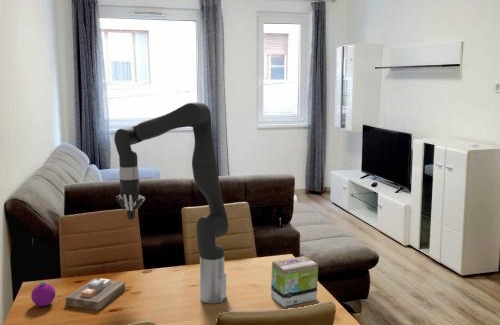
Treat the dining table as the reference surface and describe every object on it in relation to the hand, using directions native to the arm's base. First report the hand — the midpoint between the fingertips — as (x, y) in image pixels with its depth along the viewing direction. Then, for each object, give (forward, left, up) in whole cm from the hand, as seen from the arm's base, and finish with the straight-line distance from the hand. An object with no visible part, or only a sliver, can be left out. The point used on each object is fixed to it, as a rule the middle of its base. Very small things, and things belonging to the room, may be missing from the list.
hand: (131, 219), depth 191 cm
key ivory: (+6, +13, -25) cm, 29 cm away
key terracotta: (+6, +22, -25) cm, 34 cm away
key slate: (+6, +17, -24) cm, 30 cm away
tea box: (-67, -4, -27) cm, 72 cm away
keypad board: (+6, +17, -27) cm, 32 cm away
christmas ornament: (+21, +28, -27) cm, 44 cm away
